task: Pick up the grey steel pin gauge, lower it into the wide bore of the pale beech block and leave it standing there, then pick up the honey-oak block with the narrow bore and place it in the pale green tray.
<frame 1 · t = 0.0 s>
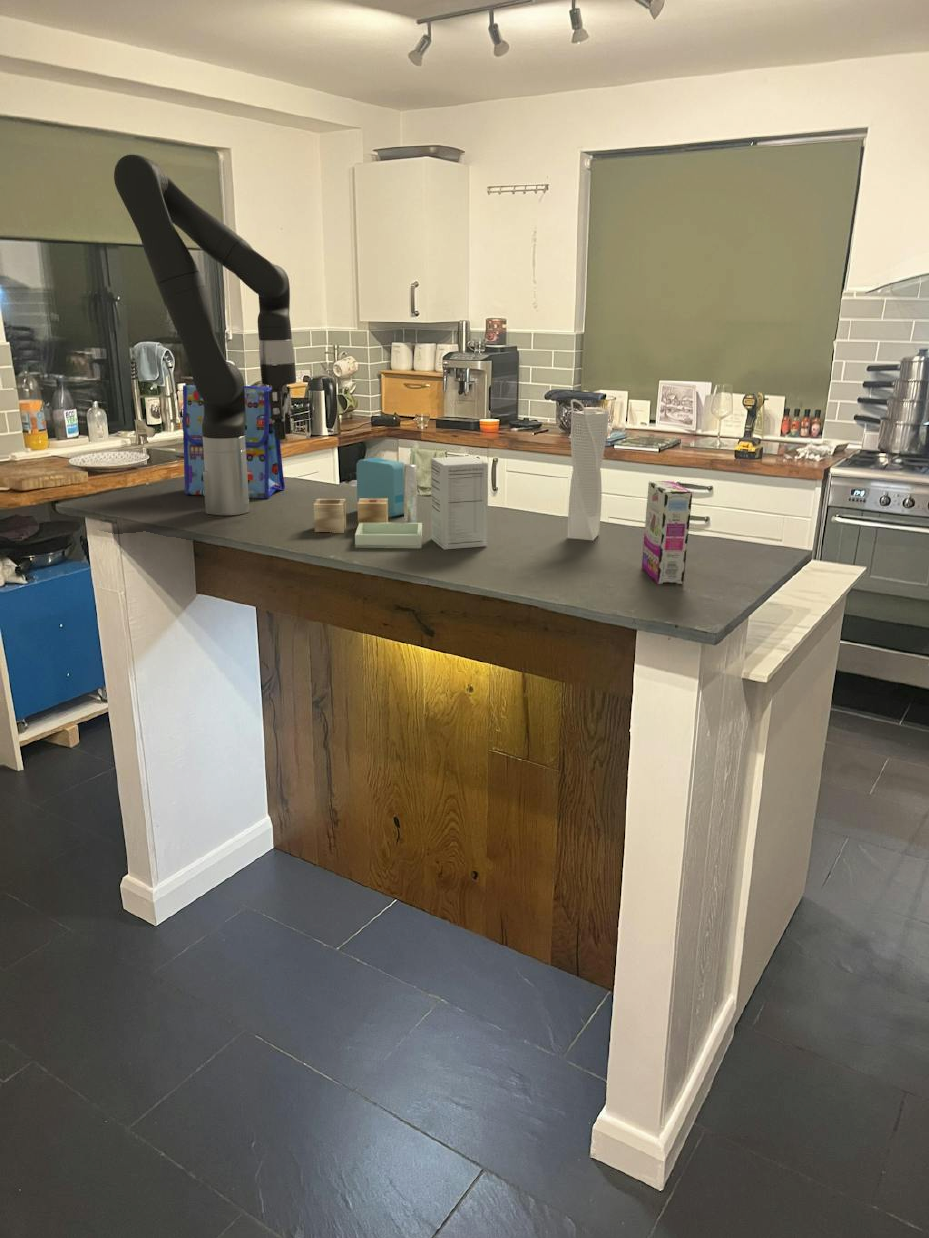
hand: (283, 436, 209), 17 cm above the counter, tool pointing down, fingers open, 8 cm apart
beech block wide bore: (330, 529, 199), on the counter
lunch bag: (236, 493, 236), on the counter
skyscraper: (582, 537, 196), on the counter
supplement box: (458, 544, 189), on the counter
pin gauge: (410, 531, 198), on the counter
oak block narrow bore: (373, 528, 200), on the counter
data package: (382, 513, 215), on the counter
tray: (389, 541, 190), on the counter
candy bar box: (662, 577, 168), on the counter
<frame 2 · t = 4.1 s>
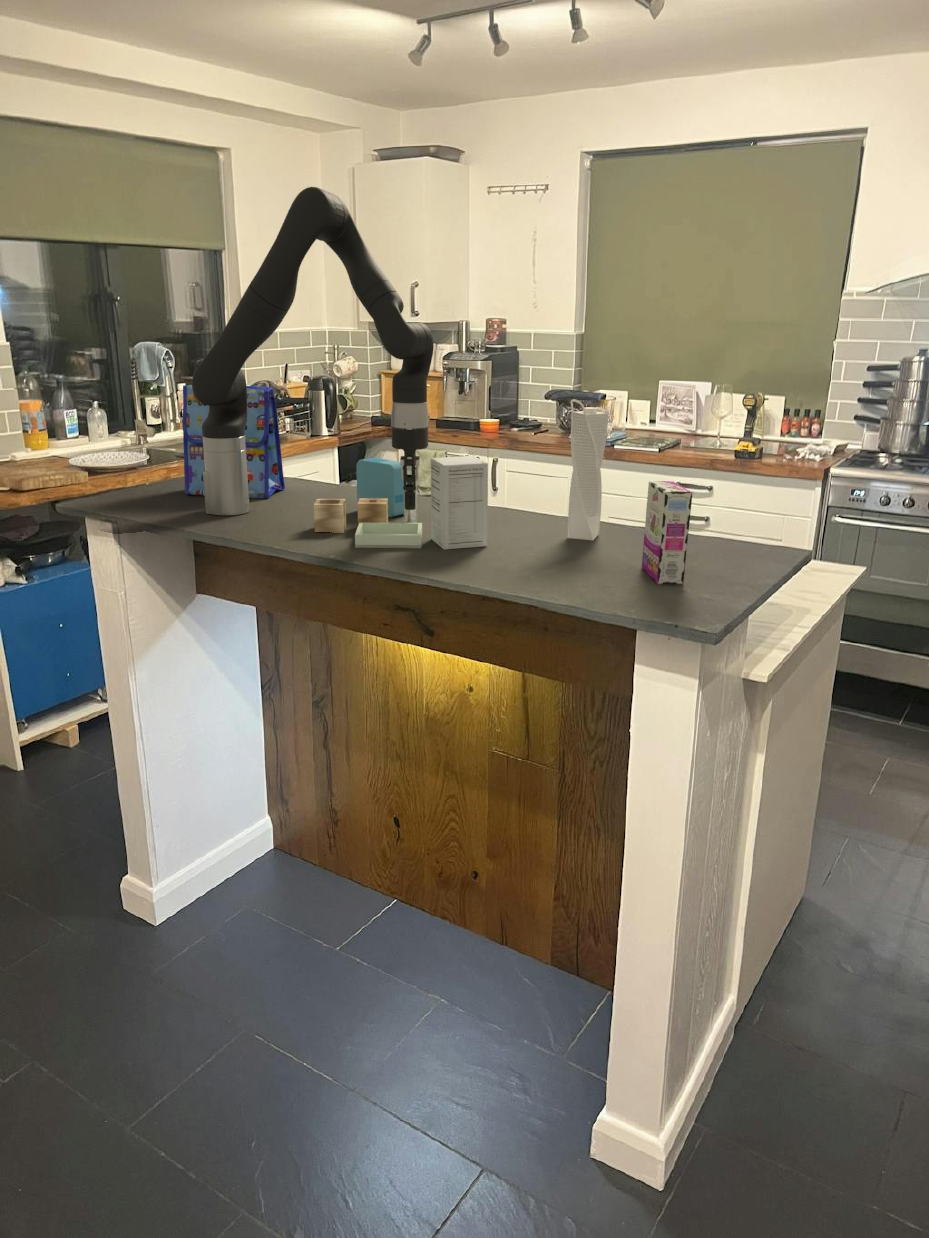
hand: (410, 507, 197), 5 cm above the counter, tool pointing down, fingers closed on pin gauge, 2 cm apart
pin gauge: (410, 531, 198), on the counter, touching gripper
everything else where it was.
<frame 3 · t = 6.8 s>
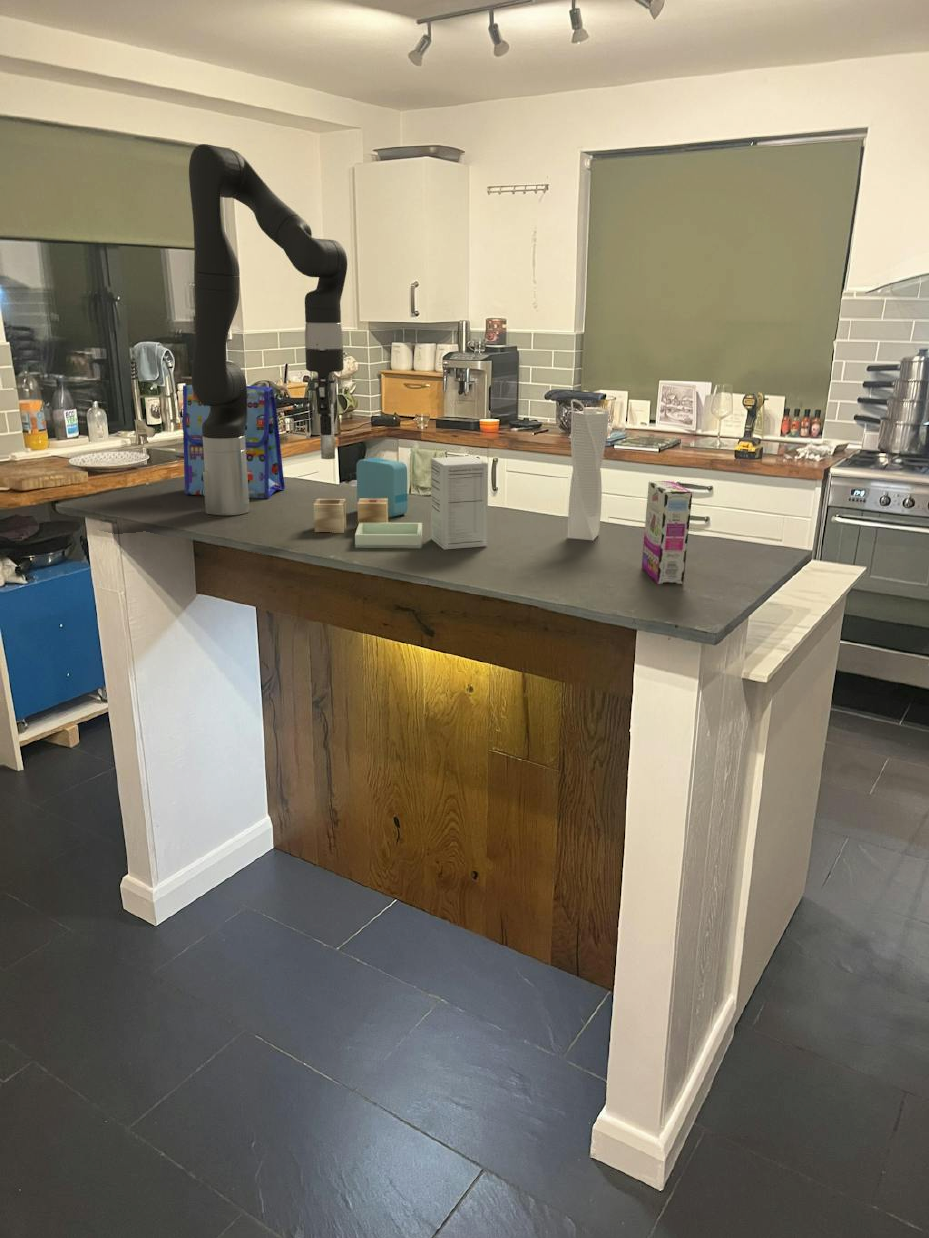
hand: (327, 433, 192), 20 cm above the counter, tool pointing down, fingers closed on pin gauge, 2 cm apart
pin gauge: (328, 458, 194), point 15 cm above the counter, touching gripper
everything else where it was.
when the fingers open (7 cm above the counter, at t = 9.3 s): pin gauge drops 2 cm, resting in beech block wide bore.
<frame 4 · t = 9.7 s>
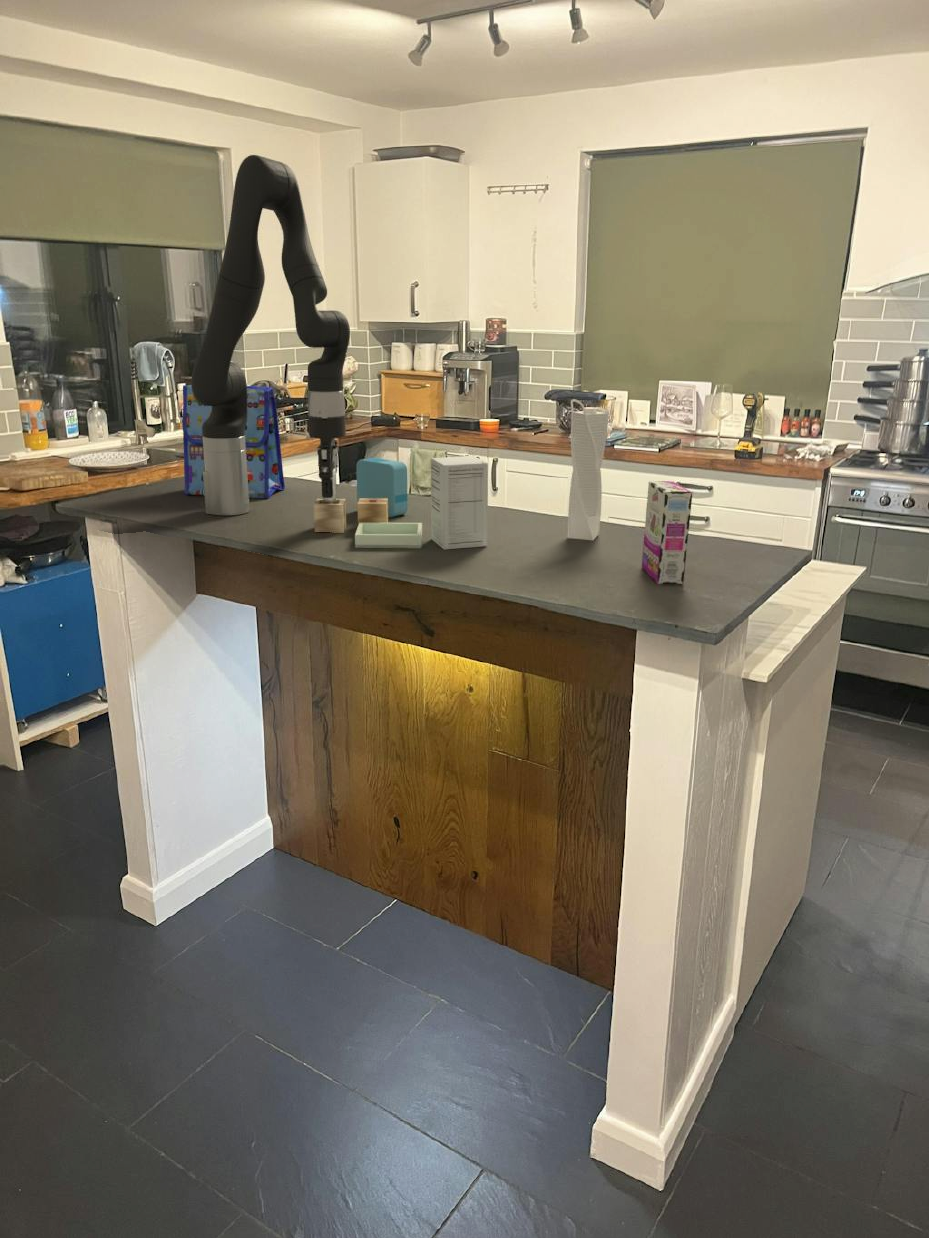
hand: (329, 494, 196), 8 cm above the counter, tool pointing down, fingers open, 6 cm apart
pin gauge: (330, 529, 199), resting in beech block wide bore
everything else where it was.
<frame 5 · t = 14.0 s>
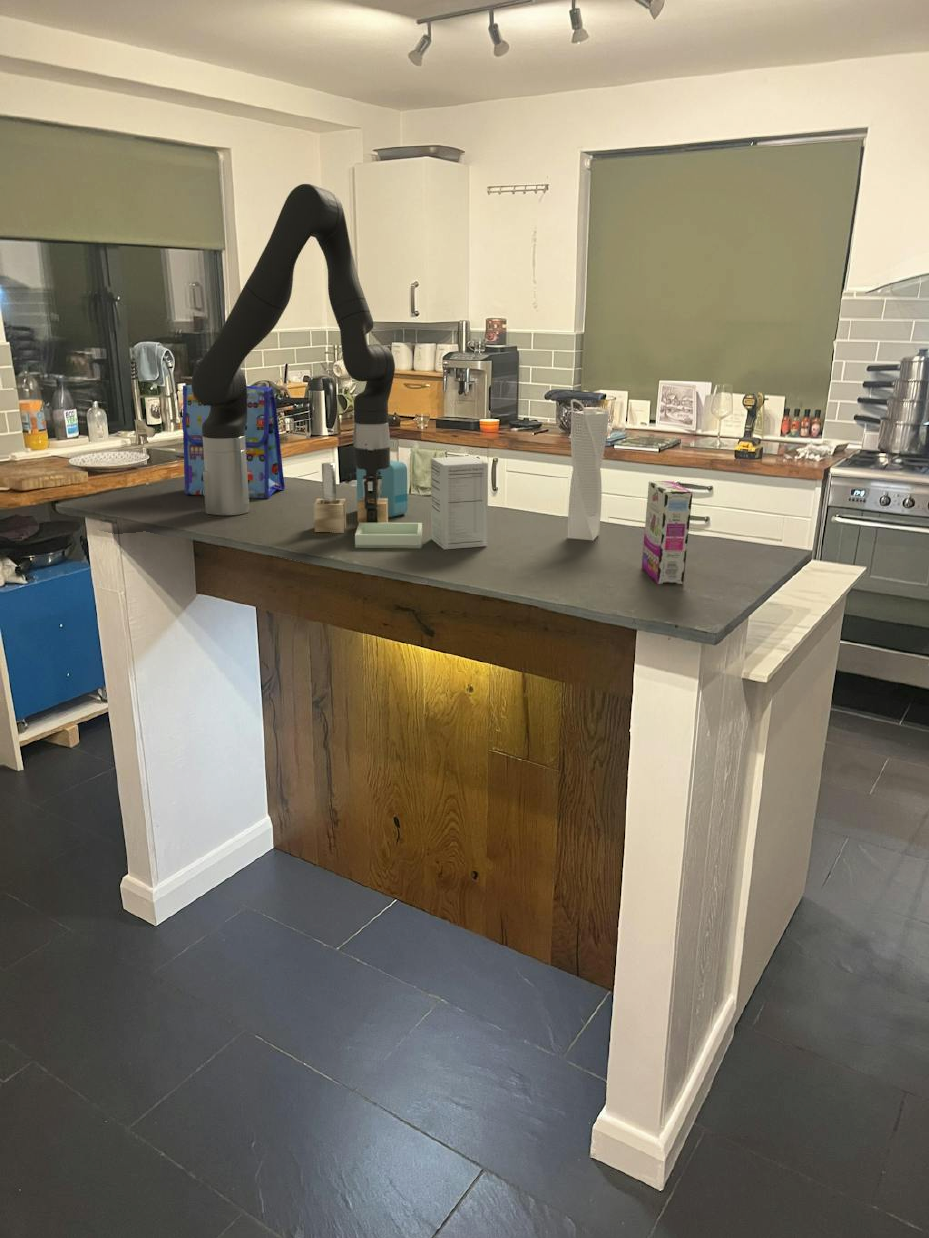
hand: (373, 523, 200), 1 cm above the counter, tool pointing down, fingers closed on oak block narrow bore, 6 cm apart
oak block narrow bore: (373, 528, 200), on the counter, touching gripper
everything else where it was.
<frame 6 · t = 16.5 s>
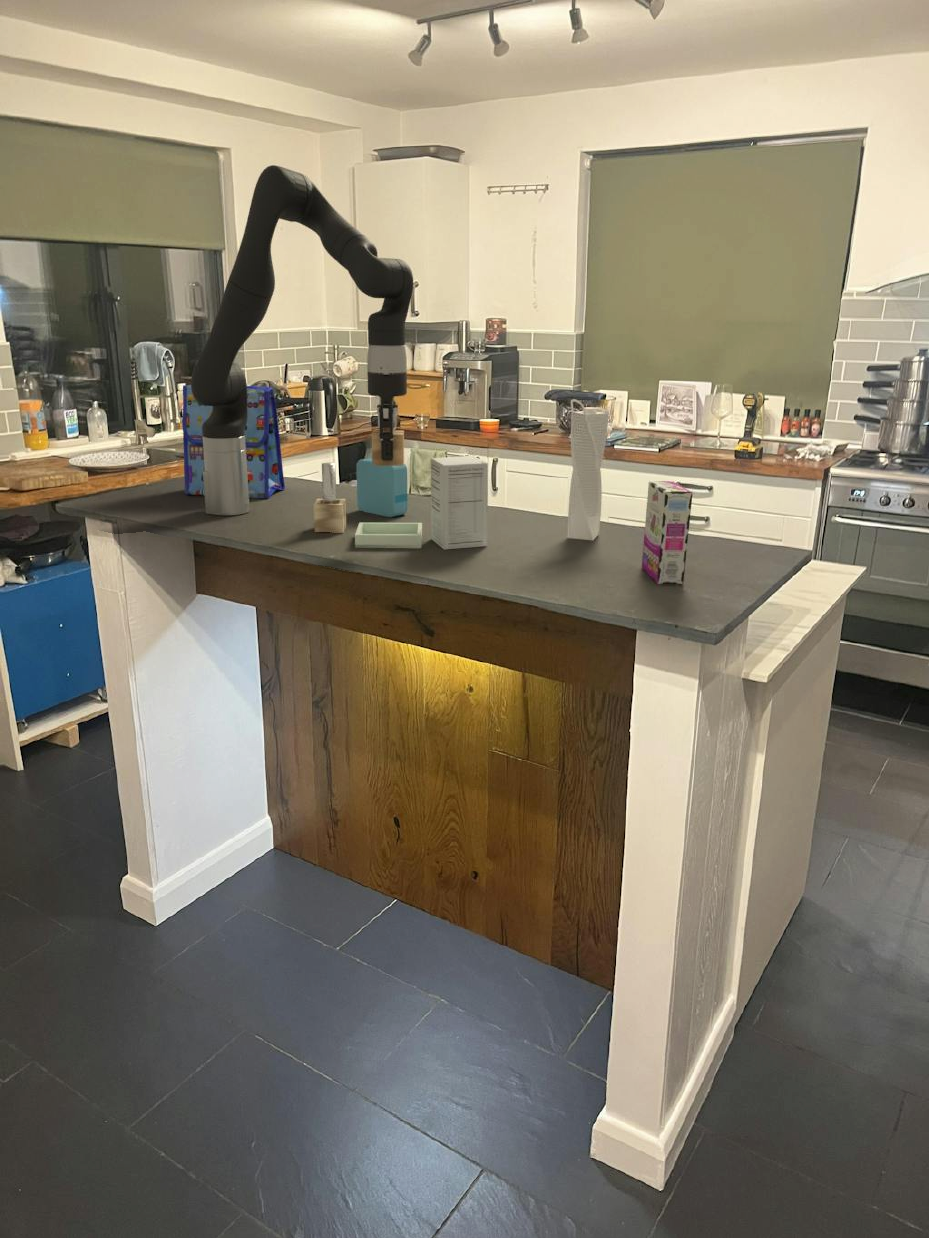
hand: (388, 457, 184), 17 cm above the counter, tool pointing down, fingers closed on oak block narrow bore, 6 cm apart
oak block narrow bore: (388, 463, 185), point 16 cm above the counter, touching gripper
everything else where it was.
when the fingers open (3 cm above the counter, at t = 19.4 s): oak block narrow bore drops 2 cm, resting on tray.
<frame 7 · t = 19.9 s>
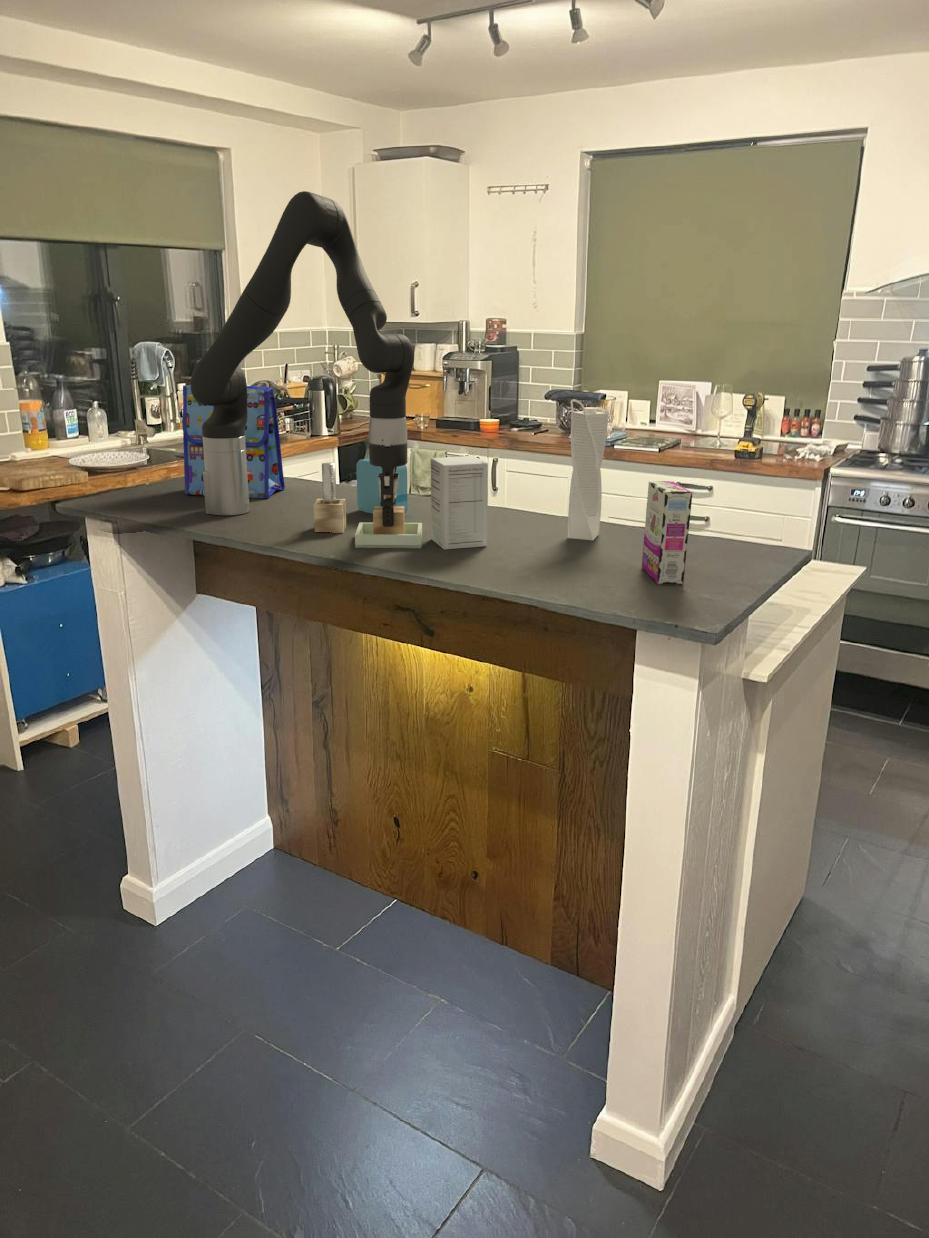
hand: (389, 521, 188), 4 cm above the counter, tool pointing down, fingers open, 8 cm apart
oak block narrow bore: (389, 538, 190), point 1 cm above the counter, touching tray
everything else where it was.
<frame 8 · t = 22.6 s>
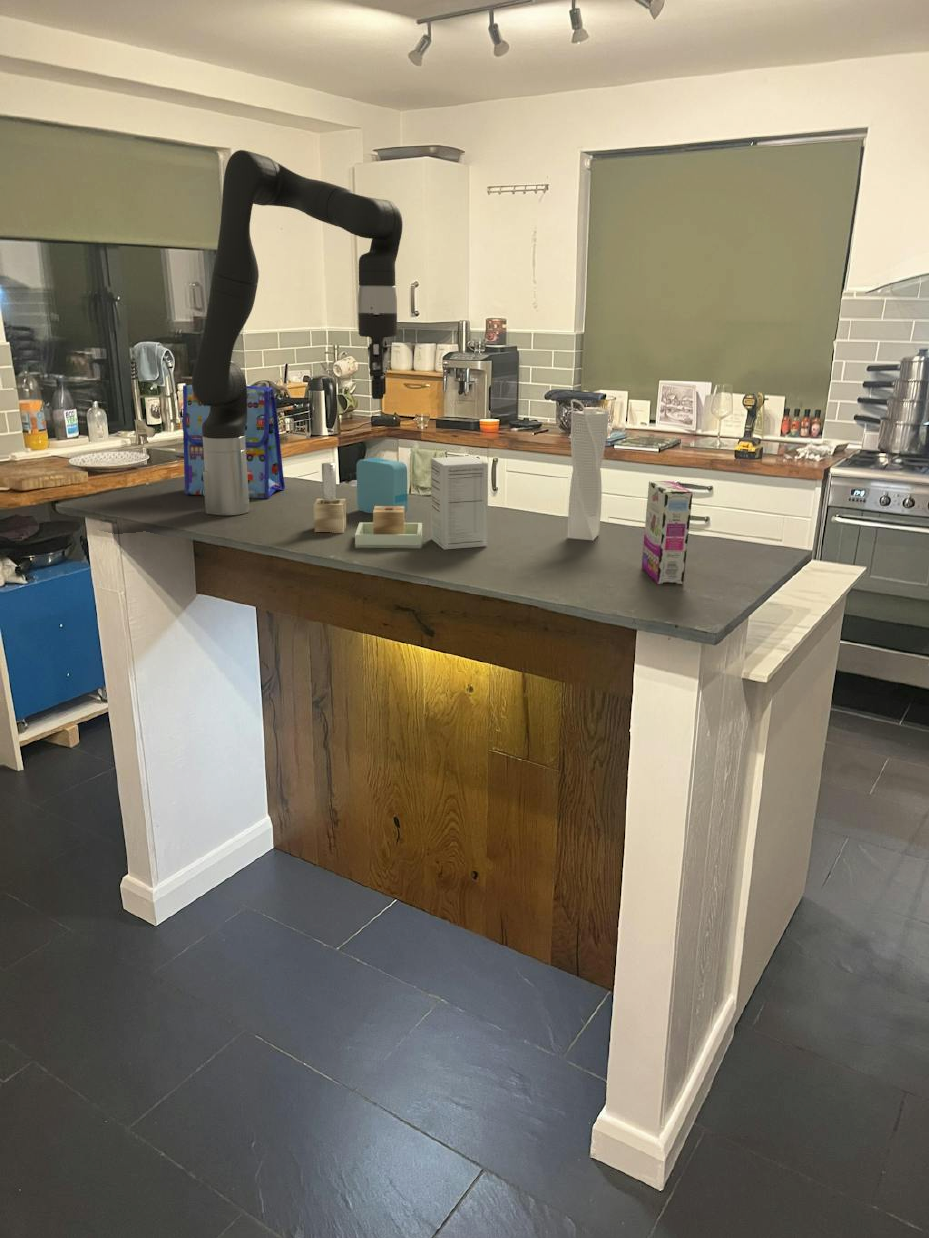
hand: (379, 396, 186), 28 cm above the counter, tool pointing down, fingers open, 8 cm apart
nothing on the counter moved.
at the end: oak block narrow bore inside the target area on the tray (0.1 cm from its centre), point 0.6 cm above the tray's base; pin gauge 0.2 cm from the beech block wide bore (horizontally); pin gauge resting in beech block wide bore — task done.
